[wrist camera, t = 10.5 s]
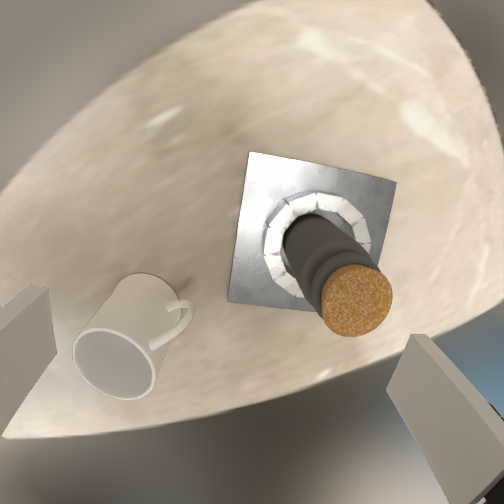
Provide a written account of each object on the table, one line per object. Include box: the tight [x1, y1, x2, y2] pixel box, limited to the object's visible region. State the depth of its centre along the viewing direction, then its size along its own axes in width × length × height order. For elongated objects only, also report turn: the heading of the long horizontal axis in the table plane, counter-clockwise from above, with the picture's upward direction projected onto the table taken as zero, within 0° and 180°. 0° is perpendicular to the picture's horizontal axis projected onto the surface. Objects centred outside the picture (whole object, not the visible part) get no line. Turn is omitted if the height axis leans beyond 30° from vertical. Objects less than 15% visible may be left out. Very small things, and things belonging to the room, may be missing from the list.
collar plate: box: [227, 152, 397, 312], centre depth 32 cm, size 16×16×4 cm
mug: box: [72, 273, 194, 400], centre depth 30 cm, size 12×8×12 cm
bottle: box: [283, 214, 392, 337], centre depth 26 cm, size 6×6×15 cm
